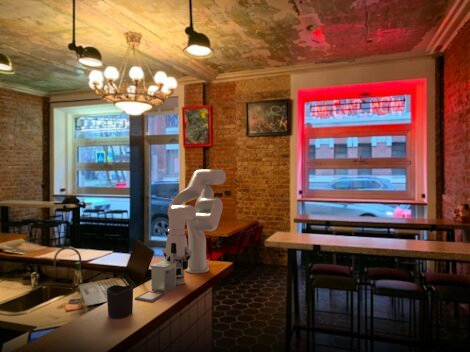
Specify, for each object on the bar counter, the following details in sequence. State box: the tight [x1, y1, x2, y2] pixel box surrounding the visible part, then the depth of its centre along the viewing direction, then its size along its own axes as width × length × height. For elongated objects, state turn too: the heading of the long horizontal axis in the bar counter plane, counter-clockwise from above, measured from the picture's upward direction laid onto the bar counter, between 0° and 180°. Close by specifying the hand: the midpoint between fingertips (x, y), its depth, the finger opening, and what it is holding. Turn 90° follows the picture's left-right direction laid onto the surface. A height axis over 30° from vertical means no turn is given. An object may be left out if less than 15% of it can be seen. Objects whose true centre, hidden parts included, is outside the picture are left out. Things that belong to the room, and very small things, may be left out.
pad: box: [134, 290, 166, 303], centre depth 142 cm, size 9×9×1 cm
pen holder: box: [106, 284, 134, 320], centre depth 125 cm, size 9×9×10 cm
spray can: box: [170, 243, 185, 286], centre depth 161 cm, size 7×7×20 cm
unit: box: [150, 259, 177, 295], centre depth 152 cm, size 10×8×12 cm
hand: (177, 268), depth 161 cm, fingers open, 8 cm apart
